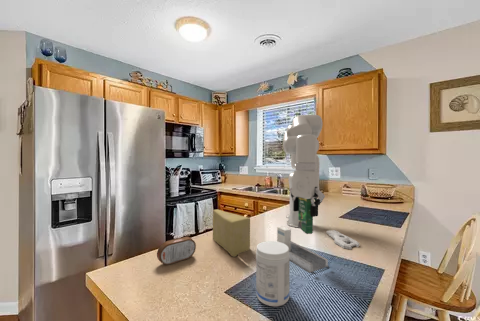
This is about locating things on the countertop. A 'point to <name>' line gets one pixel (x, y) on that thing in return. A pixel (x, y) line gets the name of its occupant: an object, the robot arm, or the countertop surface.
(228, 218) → the cheese
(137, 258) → the countertop surface
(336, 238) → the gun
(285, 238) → the small white carton
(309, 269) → the rail
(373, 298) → the countertop surface
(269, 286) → the supplement tub
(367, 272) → the countertop surface
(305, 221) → the coffee box
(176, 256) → the tin
